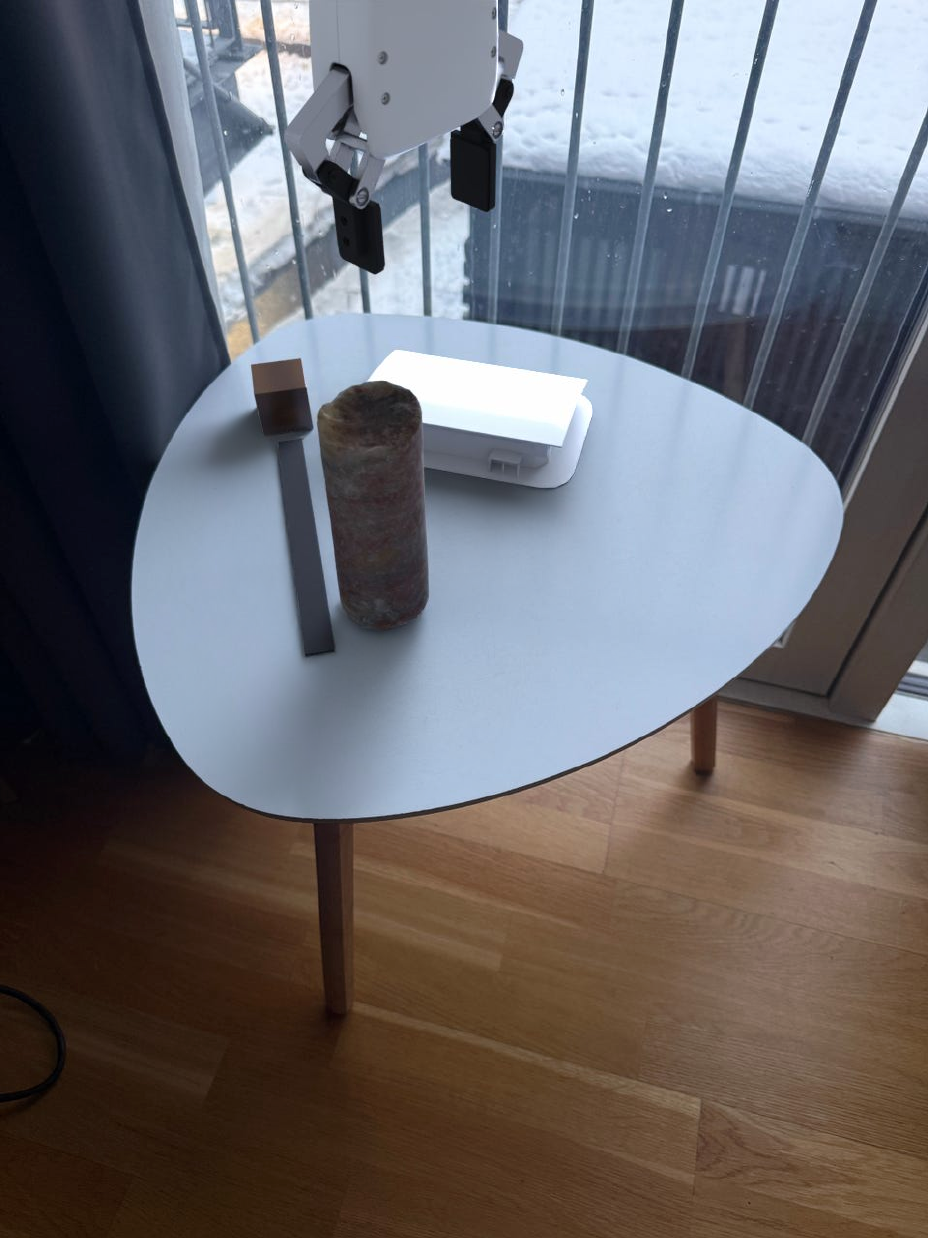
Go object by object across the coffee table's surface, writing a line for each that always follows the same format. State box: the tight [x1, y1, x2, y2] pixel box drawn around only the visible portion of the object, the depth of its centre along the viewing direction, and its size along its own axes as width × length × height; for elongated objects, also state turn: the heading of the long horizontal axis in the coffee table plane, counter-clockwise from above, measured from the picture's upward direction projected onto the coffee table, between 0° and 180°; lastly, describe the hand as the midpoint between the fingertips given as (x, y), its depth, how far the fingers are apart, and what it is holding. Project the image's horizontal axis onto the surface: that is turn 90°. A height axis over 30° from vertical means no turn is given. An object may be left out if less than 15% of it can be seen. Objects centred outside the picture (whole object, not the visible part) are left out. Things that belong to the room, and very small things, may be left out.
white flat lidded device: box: [366, 349, 593, 489], centre depth 90 cm, size 15×23×4 cm, turn 74°
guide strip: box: [277, 437, 336, 657], centre depth 81 cm, size 2×27×1 cm, turn 12°
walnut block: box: [250, 357, 314, 437], centre depth 90 cm, size 5×5×5 cm
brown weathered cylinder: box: [316, 381, 430, 631], centre depth 68 cm, size 8×7×20 cm
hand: (419, 233), depth 55 cm, fingers open, 9 cm apart
